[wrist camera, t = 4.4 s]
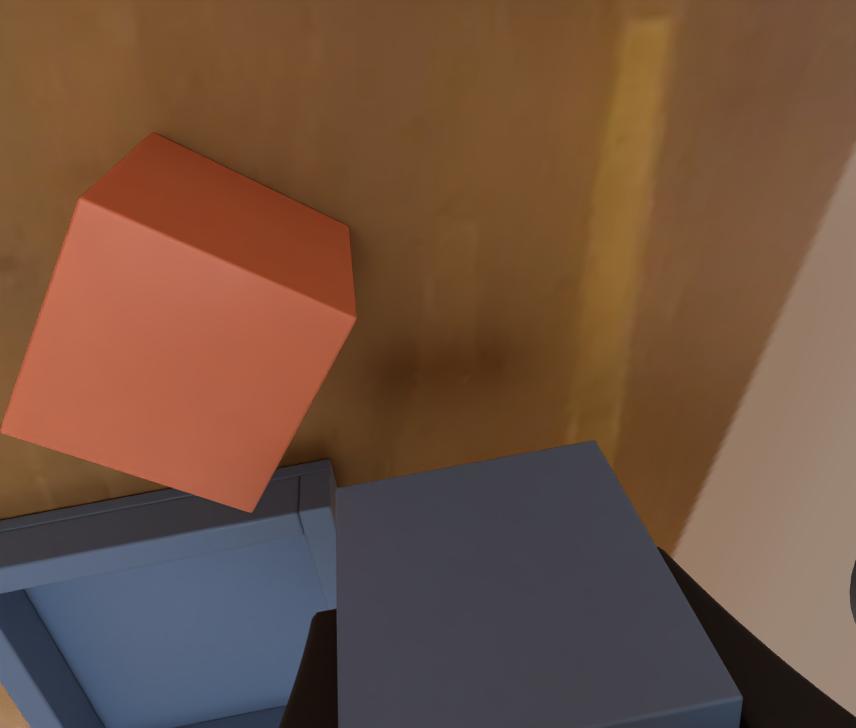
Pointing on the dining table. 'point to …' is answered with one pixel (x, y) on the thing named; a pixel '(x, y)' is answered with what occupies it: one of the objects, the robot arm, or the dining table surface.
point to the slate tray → (166, 605)
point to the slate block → (515, 604)
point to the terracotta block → (185, 326)
